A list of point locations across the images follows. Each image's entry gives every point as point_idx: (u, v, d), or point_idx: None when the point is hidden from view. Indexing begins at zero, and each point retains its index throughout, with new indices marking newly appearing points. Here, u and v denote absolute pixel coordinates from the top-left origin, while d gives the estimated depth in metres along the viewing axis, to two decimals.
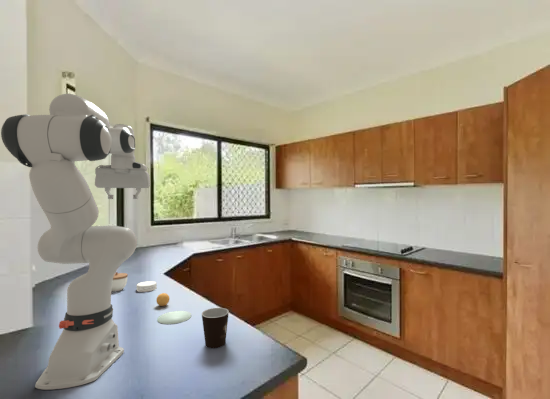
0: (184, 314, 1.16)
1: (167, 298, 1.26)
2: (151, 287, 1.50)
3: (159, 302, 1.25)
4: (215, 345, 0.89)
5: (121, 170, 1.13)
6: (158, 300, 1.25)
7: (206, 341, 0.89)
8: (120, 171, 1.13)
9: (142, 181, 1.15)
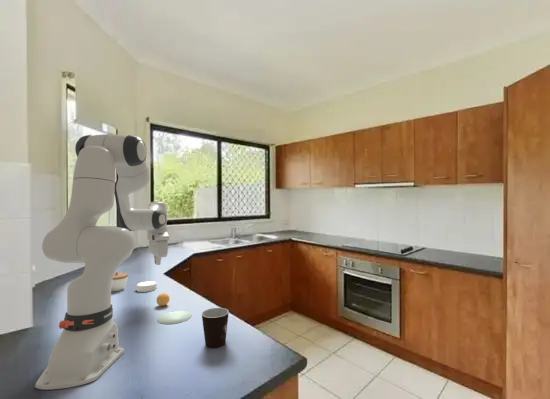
0: (184, 314, 1.16)
1: (167, 298, 1.26)
2: (151, 287, 1.50)
3: (159, 302, 1.25)
4: (215, 345, 0.89)
5: (150, 241, 1.33)
6: (158, 300, 1.25)
7: (206, 341, 0.89)
8: (150, 241, 1.34)
9: (157, 251, 1.28)
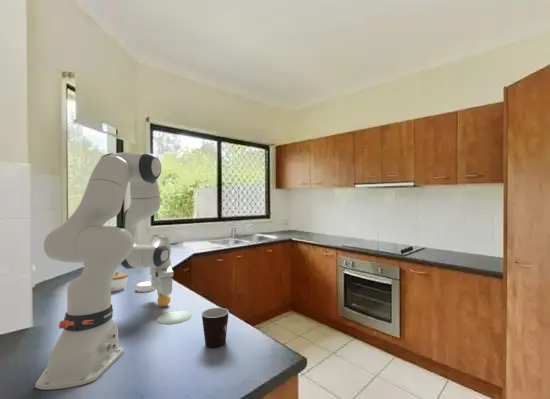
0: (184, 314, 1.16)
1: (168, 300, 1.26)
2: (151, 287, 1.50)
3: (160, 303, 1.24)
4: (215, 345, 0.89)
5: (153, 276, 1.27)
6: (159, 301, 1.24)
7: (206, 341, 0.89)
8: (153, 277, 1.28)
9: (161, 289, 1.22)
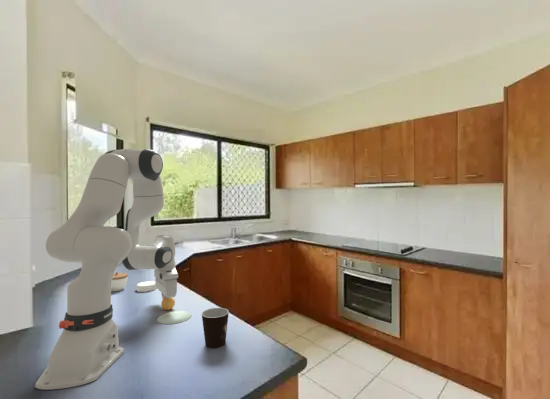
0: (184, 314, 1.16)
1: (171, 308, 1.22)
2: (151, 287, 1.50)
3: (162, 307, 1.21)
4: (215, 345, 0.89)
5: (157, 278, 1.24)
6: (162, 307, 1.21)
7: (206, 341, 0.89)
8: (157, 278, 1.24)
9: (166, 291, 1.18)
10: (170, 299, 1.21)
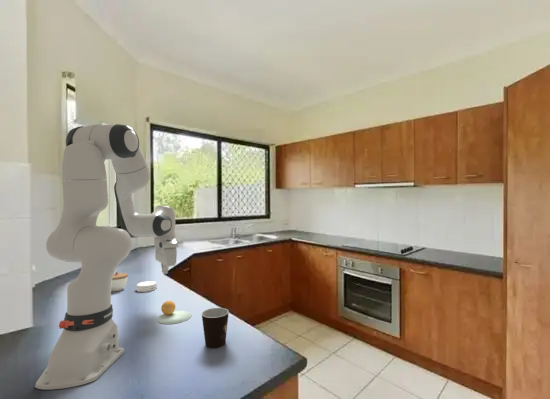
0: (184, 314, 1.16)
1: None
2: (151, 287, 1.50)
3: None
4: (215, 345, 0.89)
5: (157, 248, 1.23)
6: None
7: (206, 341, 0.89)
8: (157, 249, 1.24)
9: (165, 260, 1.18)
10: (170, 313, 1.17)
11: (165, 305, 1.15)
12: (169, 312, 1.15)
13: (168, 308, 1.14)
